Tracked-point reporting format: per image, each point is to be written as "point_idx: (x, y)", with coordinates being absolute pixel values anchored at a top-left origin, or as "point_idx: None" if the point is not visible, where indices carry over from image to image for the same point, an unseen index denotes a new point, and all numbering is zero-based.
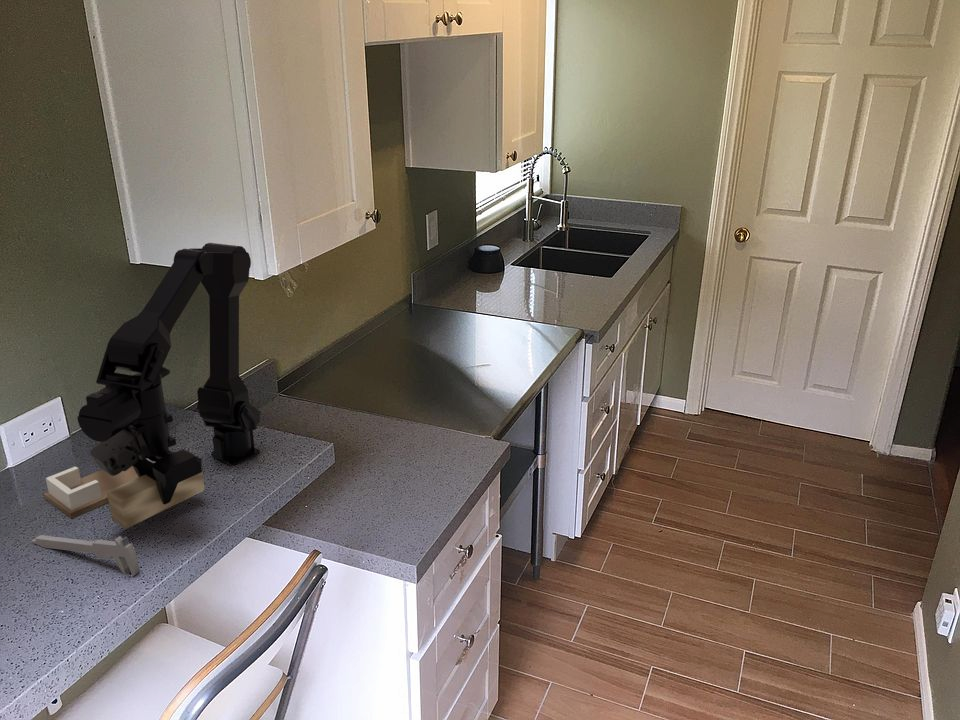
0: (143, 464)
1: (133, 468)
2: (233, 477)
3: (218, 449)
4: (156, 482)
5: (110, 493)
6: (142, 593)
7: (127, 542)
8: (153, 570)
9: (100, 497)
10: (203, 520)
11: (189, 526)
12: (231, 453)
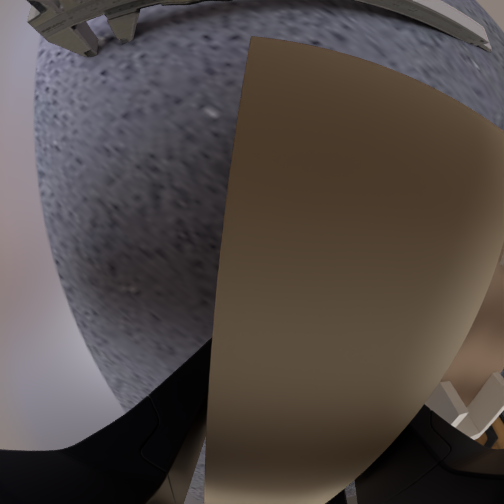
0: (417, 495)
1: (477, 378)
2: None
3: None
4: (160, 454)
5: (486, 122)
6: (41, 39)
7: (38, 6)
8: (67, 91)
9: (501, 261)
10: (152, 344)
11: (155, 307)
12: None
